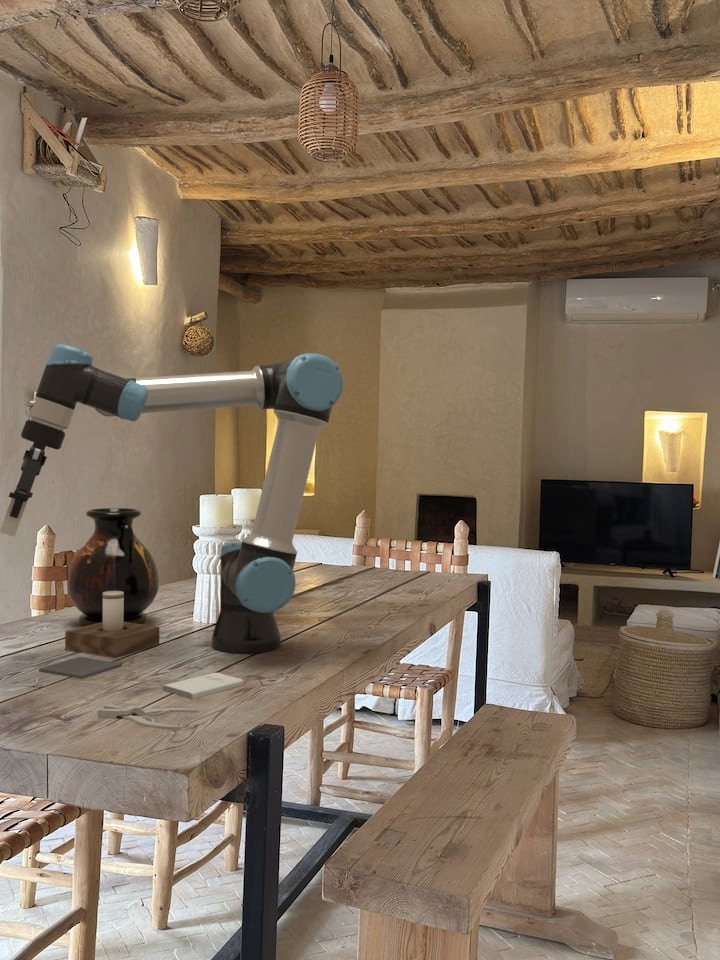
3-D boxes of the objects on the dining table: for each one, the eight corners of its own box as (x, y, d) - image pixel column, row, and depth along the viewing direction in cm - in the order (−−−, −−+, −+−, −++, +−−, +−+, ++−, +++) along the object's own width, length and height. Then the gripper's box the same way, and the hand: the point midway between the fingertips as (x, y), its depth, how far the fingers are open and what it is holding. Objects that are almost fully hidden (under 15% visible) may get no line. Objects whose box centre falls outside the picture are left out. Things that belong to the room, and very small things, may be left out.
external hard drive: (162, 693, 165) (214, 679, 174) (192, 702, 159) (243, 687, 169) (162, 684, 165) (214, 671, 174) (192, 693, 159) (244, 678, 169)
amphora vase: (174, 627, 219) (174, 511, 217) (87, 638, 205) (88, 515, 204) (135, 612, 236) (136, 505, 234) (53, 622, 222) (53, 508, 221)
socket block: (159, 644, 200) (159, 626, 200) (115, 657, 188) (115, 638, 188) (110, 637, 207) (110, 619, 206) (65, 649, 194) (65, 631, 194)
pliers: (178, 721, 143) (88, 716, 145) (178, 731, 143) (88, 725, 145) (197, 703, 153) (113, 698, 155) (197, 713, 153) (113, 707, 155)
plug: (128, 646, 198) (128, 591, 198) (113, 650, 194) (114, 595, 194) (112, 643, 200) (112, 590, 200) (97, 648, 196) (98, 593, 196)
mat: (121, 665, 181) (121, 663, 181) (81, 678, 171) (81, 676, 171) (80, 659, 186) (80, 656, 186) (39, 671, 176) (39, 668, 176)
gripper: (28, 418, 183) (-9, 518, 181) (25, 416, 159) (-17, 531, 158) (65, 431, 185) (29, 529, 184) (68, 431, 162) (27, 544, 160)
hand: (8, 530), depth 171 cm, fingers open, 13 cm apart
